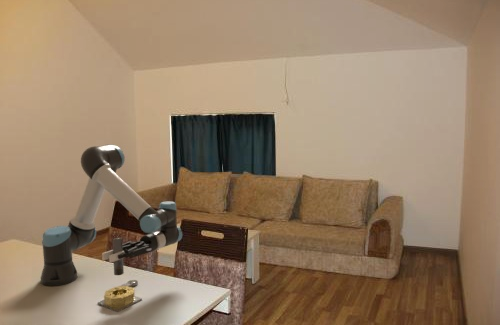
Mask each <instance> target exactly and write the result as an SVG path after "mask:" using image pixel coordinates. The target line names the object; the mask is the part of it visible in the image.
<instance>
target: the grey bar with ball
mask: <svg viewBox="0 0 500 325" xmlns="http://www.w3.org/2000/svg"><path fill="white" fill-rule="evenodd" d="M138 282H139V281H138V280H137V279H132V280H128V281H127V282H126V283H123V284H121V285H119V286H117V287H121V286H128V287H131V288H134V287H136V286H138V285H139V284H138Z"/></svg>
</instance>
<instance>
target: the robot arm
mask: <svg viewBox="0 0 500 325" xmlns="http://www.w3.org/2000/svg"><path fill="white" fill-rule="evenodd" d="M125 160H126V159H125V154H124V153H123V150H122V149H121V148H120V147H119V146H117V145H115V144H105V145H98V146H91V147H88V148H86V149H85V150H84V151H83V153H82V154H81V157H80V164H81V168H82V170H83V172H84V173H85V175H87V176H88V181H87V183H86V186H85V189H84V192H83V193H82V197H81V200H80V201H79V202H80V203H79V205H78V208H77V209H76V210H77V211H76V213H75V215H74V216H71V218H70V219H69V223H68V225H57V226H54V227H51V228H48V229H47V230H45V231H44V232H43V233H42V240H41V243H42V253H43V255H42V256H43V268H42V270H41V276H40V284H41V285H43V286H46V287H47V286H48V287H54V286H56V287H57V286H62V285H67V284H69V283H73V282H74V281H76V280H77V279H78V270H77V268H76V265H75V264H74V261H73V252H74V251H78V250H79V249H81V248H84V247H86V246H87V247H88V246H89V244H91V243H92V242H93V241H95V239H96V236H97V230H96V223H95V218H96V216H97V213H98V210H99V208H100V205H101V202H102V199H103V197H104V195H105V192H106V191H107V192H108V193H109V194H110V195H111V196H113V197H114V199H116V201H118V202H119V204H120V205H122V206H123V207H124V208H125V209H126V210H127V211H128V212H130V214H132V216H134V217H135V218H136V219H137V220H138V221H139V226H140V229H141V231H143V233H145V235H142V236H141V238H140V240H136V241H134V242H133V241H132V240H128V241H126V242H124V243H123V242H122V243H123V251H121V252H118V253H115V254H113V249H111V250H108V251H104V252H102V253H101V256H102V257H101V259H102V260H101V261H107V260H108V261H109V263H114V261H117V260H120V259H122V258H123V259H125V258H129V259H133V258H137V257H139V256H143V255H145V254H149V253H151V252H155V251H160V250H159V249H163V248H165V247H167V246H168V247H169V246H170V245H174V244H177V243H178V242H180V241H181V240H182V238H183V231H182V229H181V227H179V226H178V220H177V218H178V217H177V216H178V215H177V211H178V209H177V203H176V202H175V201H172V200H171V201H168V200H167V201H162V202H160V203H159V207H158V210H156V209H154V208H153V207H152V206H151V205H150V204H149V203H148V202H147V201H146V200H145V199H143V198H142V197H141V195H140V194H139V193H137V192H136V191H135V190H134V189H133V188H132V187H131V186H130V185H129V184H128V183H127V182H126V181H125V180H123V179H122V178H121V177H120V175H118V174H117V173H116V172H117V170H119V169H121V168H122V167H123V165H125V164H124V163H125V162H126V161H125Z"/></svg>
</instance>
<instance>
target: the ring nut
mask: <svg viewBox="0 0 500 325" xmlns="http://www.w3.org/2000/svg"><path fill="white" fill-rule="evenodd" d="M120 286H121V285H120ZM104 292H105V293H104V294H103V295H104V296H103V298H104V299H102V300H99V301H98V302H97V305H98V306H101V307H104V308H107V309H109V310H111V311H114V312H116V313H118V312H120V311H123V310H125V309H126V308H128V307H131V306H132V305H135V304H136V303H139V302H140V301H143V297H142V298H141V297H139V296H136V294H135V293H136V292H135V288H134V287H128V286H121V287H118V286H114V287H112V288H109V289H107V290H105V291H104Z"/></svg>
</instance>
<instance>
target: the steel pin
mask: <svg viewBox="0 0 500 325" xmlns="http://www.w3.org/2000/svg"><path fill="white" fill-rule="evenodd" d="M112 250H113V254H115V253H118V252H121V251H123V238H122V237H115V238H112ZM124 269H125V268H124V258H122V259H120V260H117V261H114V262H113V275H115V276H121V275H123V274H124V273H125V272H124Z"/></svg>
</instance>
